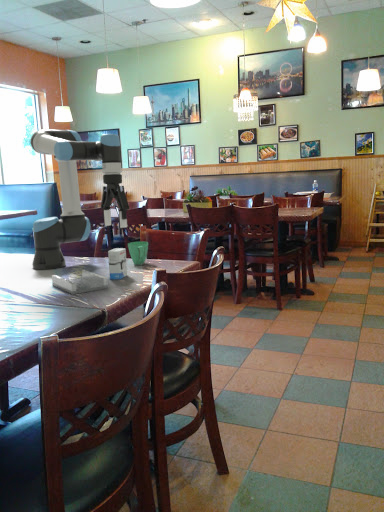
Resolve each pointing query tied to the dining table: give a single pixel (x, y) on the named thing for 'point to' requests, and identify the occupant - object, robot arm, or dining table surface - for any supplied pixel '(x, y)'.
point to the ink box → (117, 263)
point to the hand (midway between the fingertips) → (115, 226)
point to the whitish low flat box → (81, 283)
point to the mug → (138, 251)
